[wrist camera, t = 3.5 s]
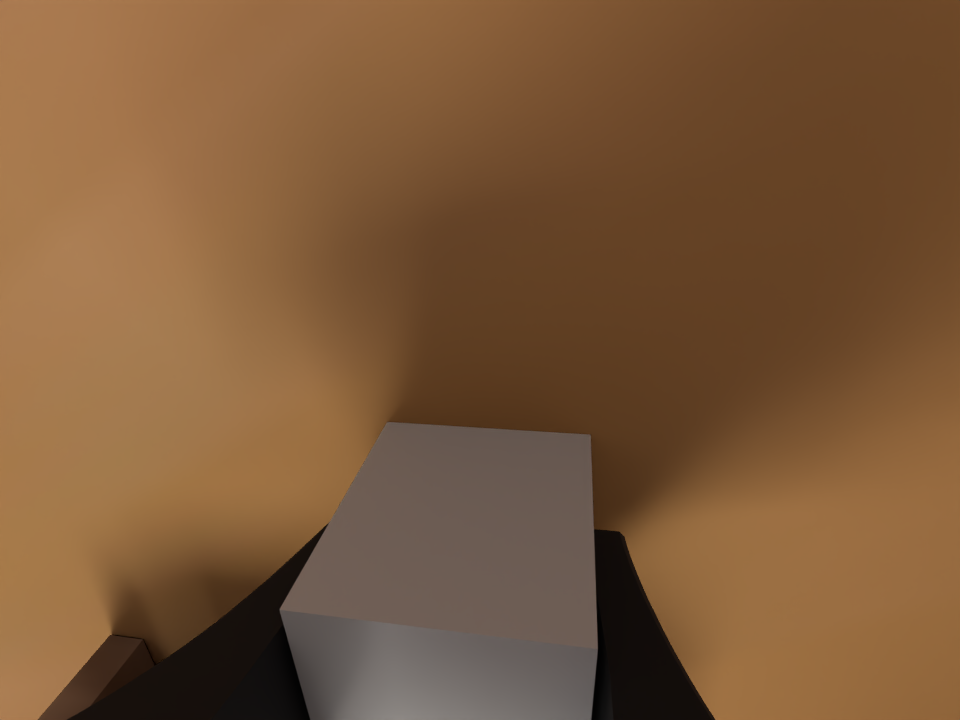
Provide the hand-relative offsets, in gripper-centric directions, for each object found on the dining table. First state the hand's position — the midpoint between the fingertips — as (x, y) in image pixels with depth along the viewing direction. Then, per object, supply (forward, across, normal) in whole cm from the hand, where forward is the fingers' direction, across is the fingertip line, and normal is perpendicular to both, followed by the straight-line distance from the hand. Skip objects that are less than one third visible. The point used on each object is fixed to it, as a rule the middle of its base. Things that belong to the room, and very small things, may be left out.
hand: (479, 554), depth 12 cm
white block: (+1, 0, 0) cm, 1 cm away
